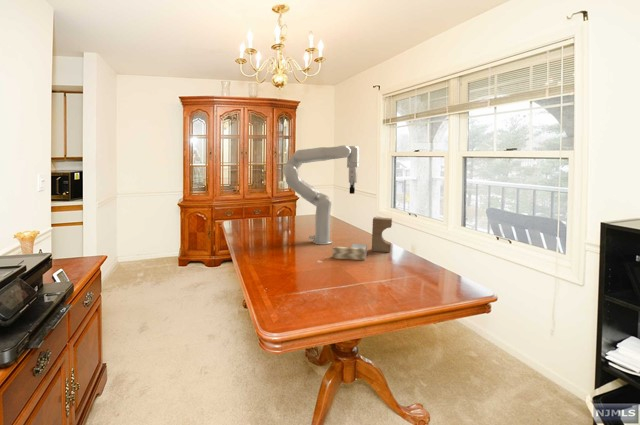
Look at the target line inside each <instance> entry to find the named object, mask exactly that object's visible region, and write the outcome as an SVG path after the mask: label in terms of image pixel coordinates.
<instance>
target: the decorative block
mask: <svg viewBox="0 0 640 425" xmlns="http://www.w3.org/2000/svg"><path fill="white" fill-rule="evenodd" d="M392 226H393V218H392V217H376V216H373V218H372V230H371V231H372V232H371V251H372V252H377V253H391V248H392V243H391V242H389V241H387V240H386V239H384V236H383V232H384V231H385V230H386V229H390V228H391V229H392Z"/></svg>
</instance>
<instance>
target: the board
mask: <svg viewBox="0 0 640 425" xmlns="http://www.w3.org/2000/svg"><path fill="white" fill-rule="evenodd" d="M365 250H366V248H354V247H352V246H333V247H332V259H340V260H341V259H342V260H355V261H356V260H357V261H358V260H359V261H365V260H366V259H365Z"/></svg>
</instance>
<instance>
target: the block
mask: <svg viewBox="0 0 640 425" xmlns="http://www.w3.org/2000/svg"><path fill="white" fill-rule="evenodd" d="M351 247H354V248H366V250H365V260H366V258H367V254H368V250H367V248H368V245H367V244H356V243H355V244H354V243H353V244H352V245H351Z"/></svg>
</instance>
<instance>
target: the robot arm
mask: <svg viewBox="0 0 640 425" xmlns="http://www.w3.org/2000/svg"><path fill="white" fill-rule="evenodd" d="M345 158H346V169H347V168H348V183H349V194H351V195H352V194H353V195H354V194H355V188H356V187H355V184H356V183H357V182H358V168H359V166H360V164H359V161H360V148H359V146H356V145H351V146H350V145H344V144H343V145H337V146H330V147H327V146H326V147H325V146H323V147H313V148H304V149H297V150H296V151H295V152H294V153H293V154H292V155H291V157H290V158H289V159H288V160H287V162H286V163H285V164H284V165H283V167H282V173H283V174H284V176H285V182H286V184H287V186H288V187H289V188H290V189H291V190H292V191H293V192H296V193H297V194H298V195H299V196H300V197H301V198H302V199H303V200H305V201H307V202H308V203H309V204H312V205H313V206H314V207H316V209H315V224H314V225H315V234H314V235H308V239H309V240H312V242H313V244H316V245H320V246H321V245H331V244H333V240H332V239H330V238H331V209H332V200H331V198H330V197H329V196H328V195H327V194H324V193H322V192H320V191H319V190H318V189H316V188H315V187H314V186H313V185H311V184H308V182H305V180H303V179H301V178H300V176H299V169H300V167H301V166H302V164H307V163H308V164H309V163H314V162H315V163H316V162H325V161H326V162H327V161H330V160H336V159H345Z"/></svg>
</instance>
